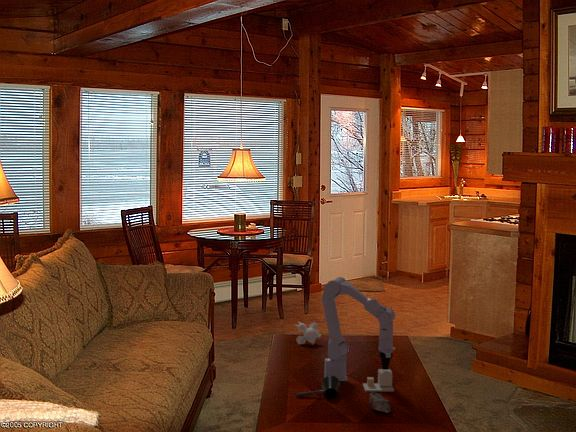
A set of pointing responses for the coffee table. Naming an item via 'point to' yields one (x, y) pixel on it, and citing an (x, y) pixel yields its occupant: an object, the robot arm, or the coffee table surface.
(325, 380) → the coffee pot
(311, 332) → the character figurine
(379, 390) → the grey board
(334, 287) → the robot arm
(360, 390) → the coffee table surface
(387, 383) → the beige block
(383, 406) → the mineral rock
